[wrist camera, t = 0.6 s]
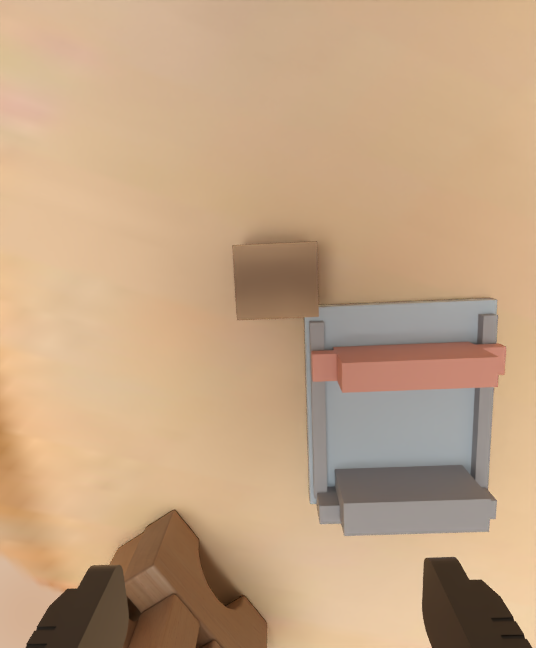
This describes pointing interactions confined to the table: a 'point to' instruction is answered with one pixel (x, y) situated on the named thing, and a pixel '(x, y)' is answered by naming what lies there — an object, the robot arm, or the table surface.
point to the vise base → (400, 426)
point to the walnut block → (276, 280)
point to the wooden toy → (179, 595)
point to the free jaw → (410, 366)
